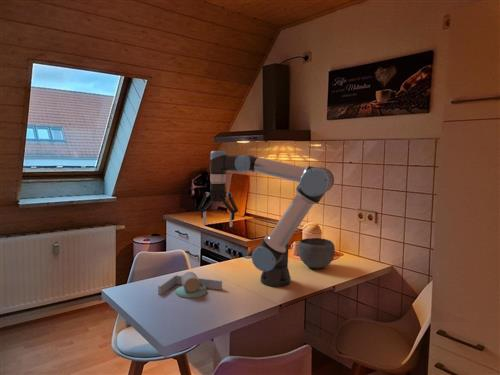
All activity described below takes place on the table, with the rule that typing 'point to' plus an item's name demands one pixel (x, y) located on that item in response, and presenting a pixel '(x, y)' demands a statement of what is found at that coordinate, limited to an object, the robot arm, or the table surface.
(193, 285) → the ceramic mug
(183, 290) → the mat
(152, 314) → the table surface
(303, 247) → the bowl
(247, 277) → the table surface
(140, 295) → the table surface
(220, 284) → the divider wall
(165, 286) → the end wall
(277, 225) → the robot arm
